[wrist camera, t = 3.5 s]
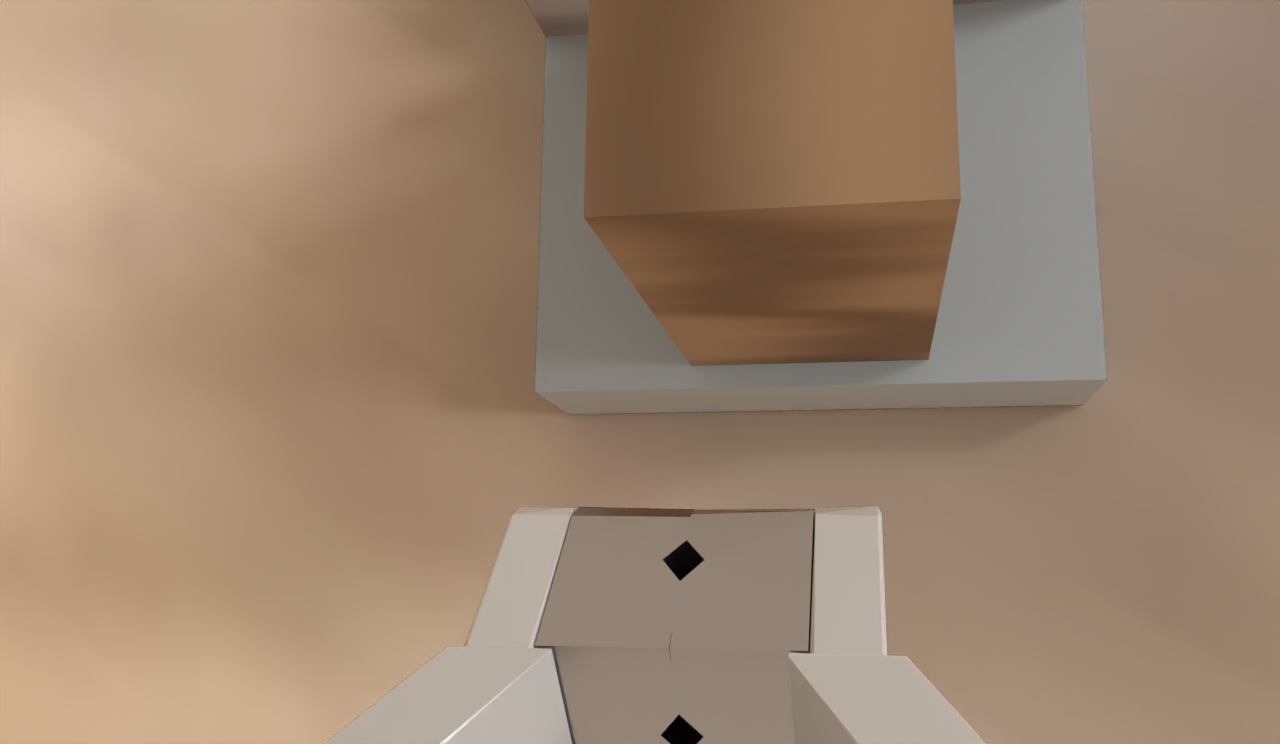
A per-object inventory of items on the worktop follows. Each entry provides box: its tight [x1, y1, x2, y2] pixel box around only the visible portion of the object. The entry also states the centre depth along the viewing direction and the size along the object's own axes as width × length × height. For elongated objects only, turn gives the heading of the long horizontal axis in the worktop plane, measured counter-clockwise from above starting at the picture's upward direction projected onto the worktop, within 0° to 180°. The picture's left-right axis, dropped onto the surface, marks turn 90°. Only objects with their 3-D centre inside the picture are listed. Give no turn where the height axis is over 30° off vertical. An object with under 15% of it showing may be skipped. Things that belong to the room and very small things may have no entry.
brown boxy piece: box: [525, 0, 1006, 366], centre depth 22 cm, size 12×9×10 cm
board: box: [535, 0, 1107, 414], centre depth 29 cm, size 12×16×3 cm
